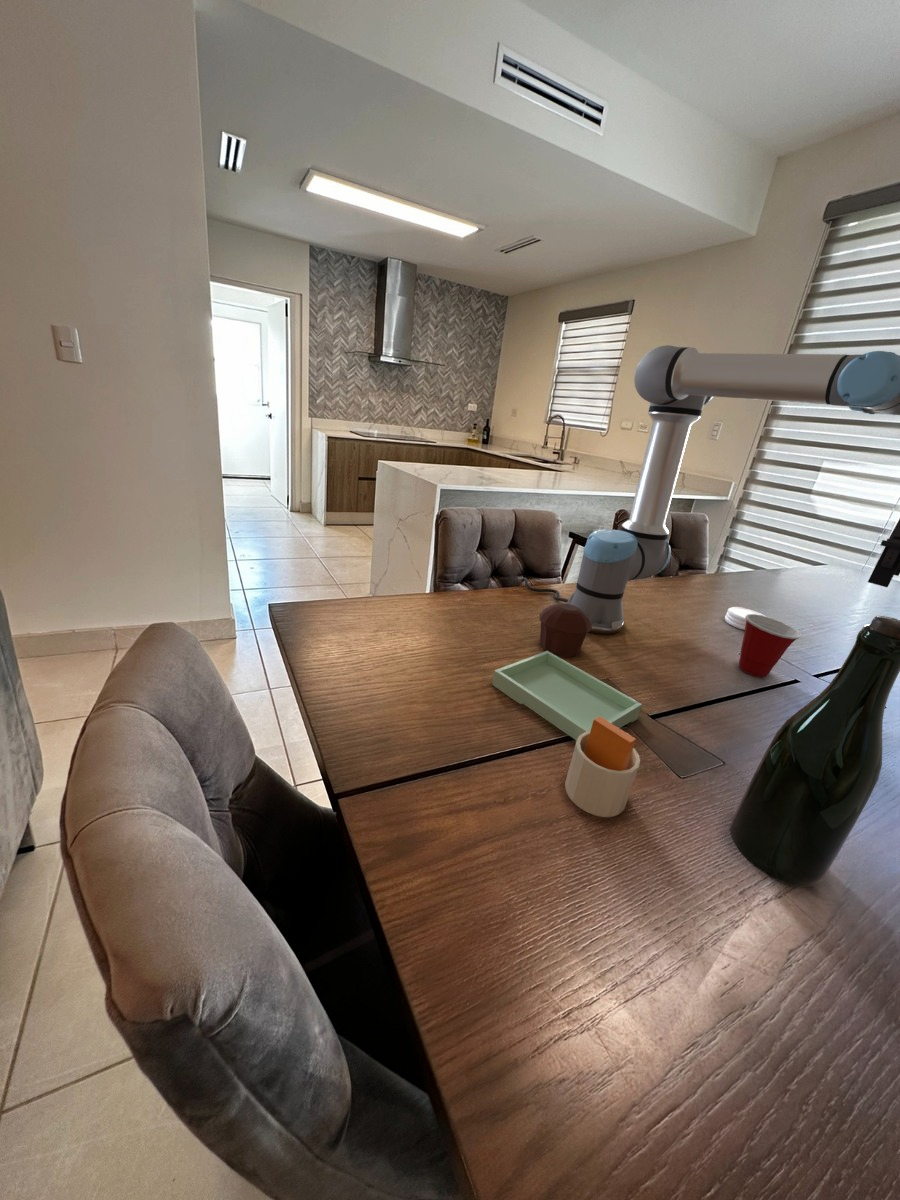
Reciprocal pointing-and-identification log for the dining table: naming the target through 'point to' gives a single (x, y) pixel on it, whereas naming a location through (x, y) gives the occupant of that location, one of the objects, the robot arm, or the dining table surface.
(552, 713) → the tray
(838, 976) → the dining table surface
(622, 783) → the sugar cup
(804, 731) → the beer bottle
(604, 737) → the plate
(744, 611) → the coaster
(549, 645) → the muffin
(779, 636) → the plastic cup
